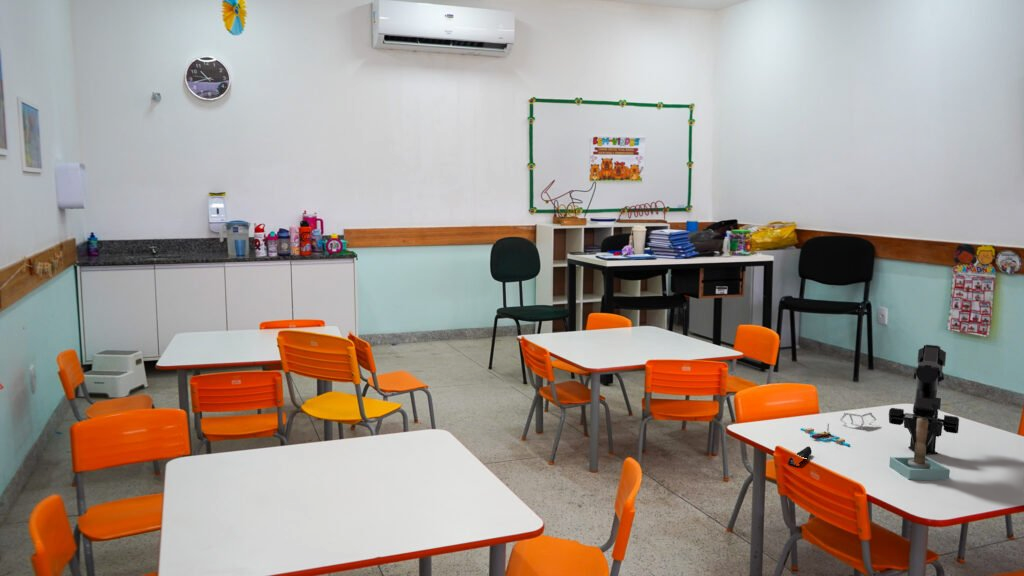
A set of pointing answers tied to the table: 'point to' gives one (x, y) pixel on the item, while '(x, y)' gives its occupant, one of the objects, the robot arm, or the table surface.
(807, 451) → the electric trimmer
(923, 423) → the rod
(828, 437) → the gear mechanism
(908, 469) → the tray
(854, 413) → the eyeglasses
